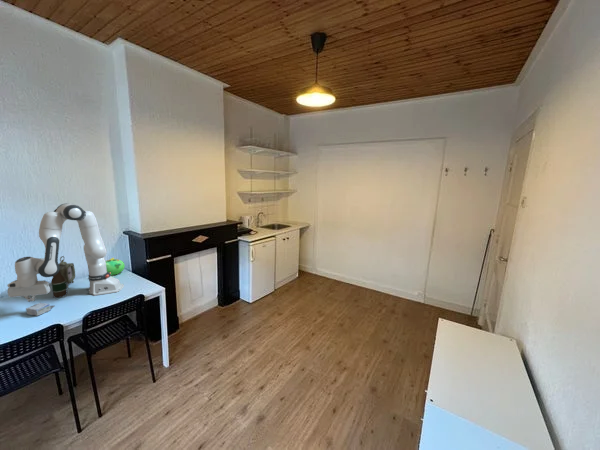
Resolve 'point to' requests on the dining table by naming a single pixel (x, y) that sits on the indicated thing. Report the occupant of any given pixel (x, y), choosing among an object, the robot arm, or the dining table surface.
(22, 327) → the dining table surface
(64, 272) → the old metal lantern
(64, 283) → the beer bottle
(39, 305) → the medicine box
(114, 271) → the toy bird
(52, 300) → the dining table surface
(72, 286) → the dining table surface
